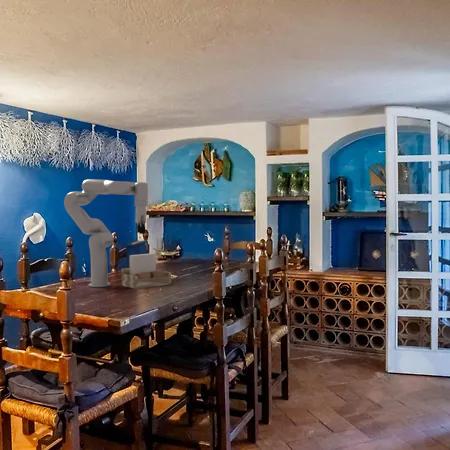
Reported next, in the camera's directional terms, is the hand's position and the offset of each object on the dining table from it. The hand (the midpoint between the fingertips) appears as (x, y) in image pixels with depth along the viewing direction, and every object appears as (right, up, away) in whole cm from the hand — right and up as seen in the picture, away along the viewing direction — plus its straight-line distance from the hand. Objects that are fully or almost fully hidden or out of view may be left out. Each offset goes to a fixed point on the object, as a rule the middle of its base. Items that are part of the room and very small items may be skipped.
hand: (141, 233), depth 286 cm
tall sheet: (-1, -31, +13) cm, 34 cm away
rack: (+1, -31, +10) cm, 33 cm away
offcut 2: (+8, -31, +11) cm, 34 cm away
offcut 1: (0, -32, +4) cm, 32 cm away
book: (-7, -31, +27) cm, 42 cm away
